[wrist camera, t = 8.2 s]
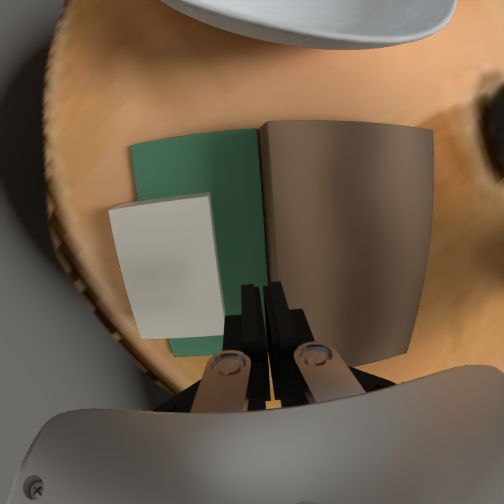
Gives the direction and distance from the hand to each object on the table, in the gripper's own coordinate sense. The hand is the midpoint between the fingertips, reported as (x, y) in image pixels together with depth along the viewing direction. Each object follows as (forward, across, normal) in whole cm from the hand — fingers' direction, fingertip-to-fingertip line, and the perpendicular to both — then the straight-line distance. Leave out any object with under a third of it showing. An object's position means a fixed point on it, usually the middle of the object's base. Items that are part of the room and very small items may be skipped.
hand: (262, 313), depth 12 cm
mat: (+7, +3, 0) cm, 8 cm away
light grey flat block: (+5, +5, 0) cm, 7 cm away
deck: (+8, -6, 0) cm, 10 cm away
